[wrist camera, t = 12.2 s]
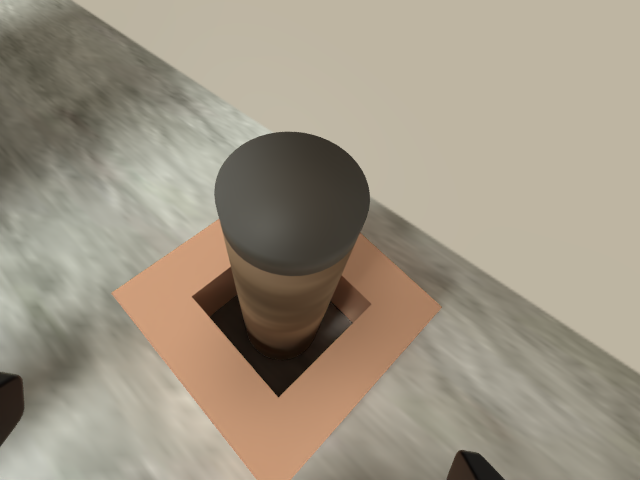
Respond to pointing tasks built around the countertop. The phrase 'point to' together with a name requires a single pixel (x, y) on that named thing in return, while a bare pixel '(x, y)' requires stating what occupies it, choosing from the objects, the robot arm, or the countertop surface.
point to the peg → (289, 233)
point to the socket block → (238, 375)
